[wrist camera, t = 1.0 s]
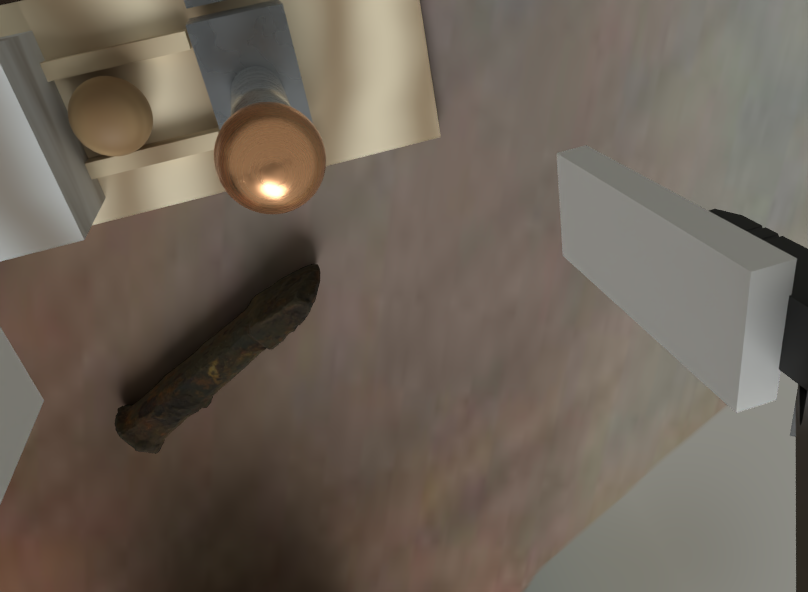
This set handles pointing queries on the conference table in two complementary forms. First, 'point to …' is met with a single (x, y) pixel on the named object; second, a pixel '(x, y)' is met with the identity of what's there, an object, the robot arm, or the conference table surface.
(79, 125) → the brown ball
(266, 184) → the ball-top joystick
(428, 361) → the conference table surface
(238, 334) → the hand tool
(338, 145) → the knob lever base plate
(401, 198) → the conference table surface
